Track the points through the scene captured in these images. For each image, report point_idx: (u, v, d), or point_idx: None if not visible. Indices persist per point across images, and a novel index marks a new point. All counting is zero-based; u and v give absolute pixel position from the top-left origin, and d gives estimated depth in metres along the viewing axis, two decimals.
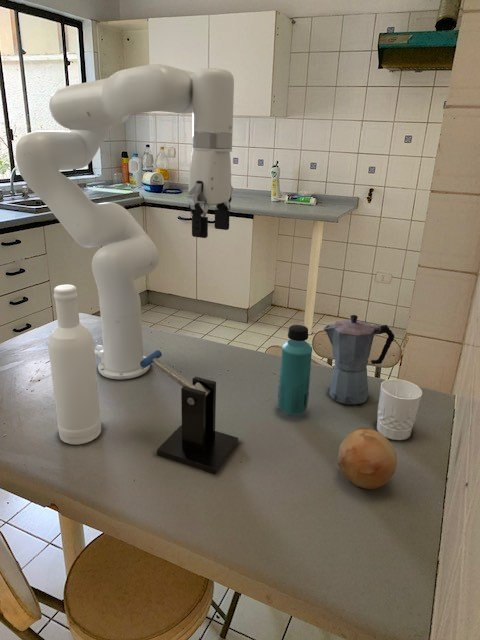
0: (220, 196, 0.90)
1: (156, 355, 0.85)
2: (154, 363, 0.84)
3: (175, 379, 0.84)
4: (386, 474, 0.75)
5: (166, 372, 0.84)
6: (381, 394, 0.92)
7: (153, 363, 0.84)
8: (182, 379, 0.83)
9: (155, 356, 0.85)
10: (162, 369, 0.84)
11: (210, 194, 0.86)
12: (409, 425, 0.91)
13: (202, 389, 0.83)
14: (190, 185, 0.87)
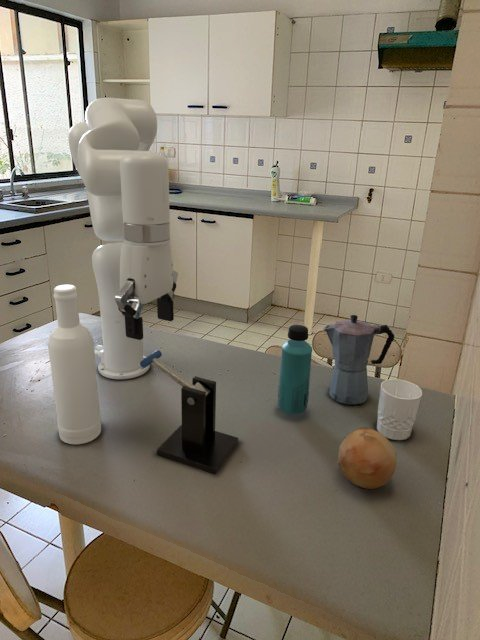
0: (158, 291, 0.79)
1: (156, 355, 0.85)
2: (154, 363, 0.84)
3: (175, 379, 0.84)
4: (386, 474, 0.75)
5: (166, 372, 0.84)
6: (381, 394, 0.92)
7: (153, 363, 0.84)
8: (182, 379, 0.83)
9: (155, 356, 0.85)
10: (162, 369, 0.84)
11: (143, 293, 0.75)
12: (409, 425, 0.91)
13: (202, 389, 0.83)
14: (120, 282, 0.76)
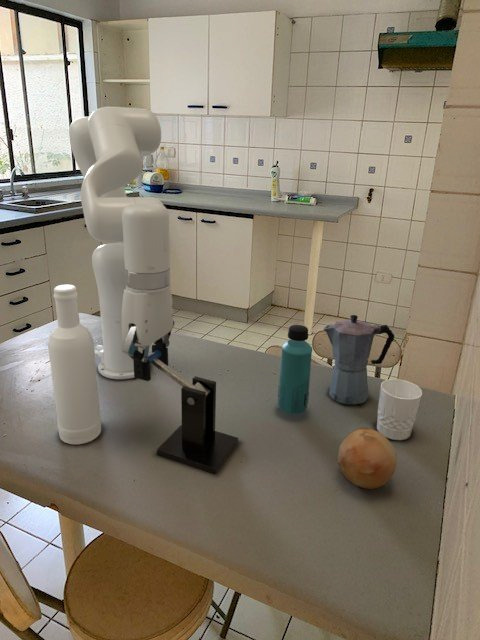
0: (158, 333, 0.82)
1: (156, 355, 0.85)
2: (154, 363, 0.84)
3: (175, 379, 0.84)
4: (386, 474, 0.75)
5: (166, 372, 0.84)
6: (381, 394, 0.92)
7: (153, 363, 0.84)
8: (182, 379, 0.83)
9: (155, 356, 0.85)
10: (162, 369, 0.84)
11: (144, 337, 0.78)
12: (409, 425, 0.91)
13: (202, 389, 0.83)
14: (122, 326, 0.79)
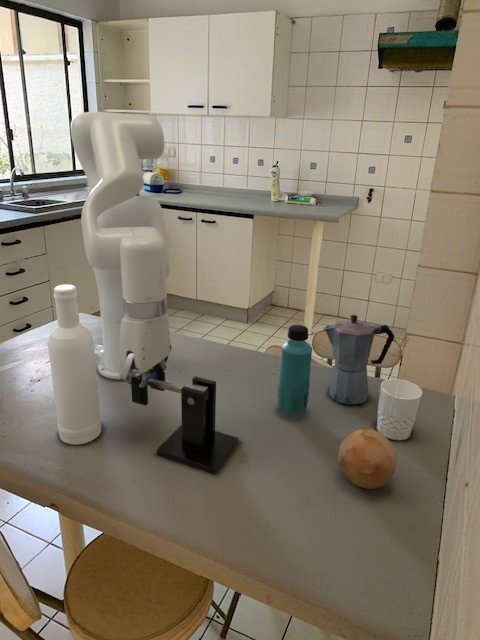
0: (155, 359, 0.84)
1: (151, 376, 0.88)
2: (150, 383, 0.86)
3: (173, 389, 0.85)
4: (386, 474, 0.75)
5: (163, 386, 0.85)
6: (381, 394, 0.92)
7: (150, 384, 0.86)
8: (179, 387, 0.84)
9: (150, 377, 0.87)
10: (159, 385, 0.86)
11: (142, 364, 0.80)
12: (409, 425, 0.91)
13: (199, 387, 0.83)
14: (120, 353, 0.81)
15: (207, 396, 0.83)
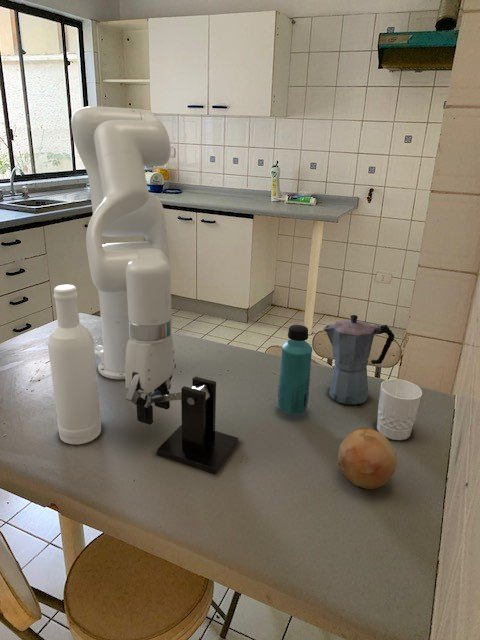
0: (160, 379, 0.85)
1: (154, 394, 0.89)
2: (154, 399, 0.87)
3: (175, 398, 0.85)
4: (386, 474, 0.75)
5: (166, 398, 0.86)
6: (381, 394, 0.92)
7: (154, 400, 0.87)
8: (180, 393, 0.85)
9: (153, 395, 0.88)
10: (162, 399, 0.86)
11: (147, 385, 0.81)
12: (409, 425, 0.91)
13: (197, 387, 0.83)
14: (126, 374, 0.82)
15: (207, 394, 0.83)
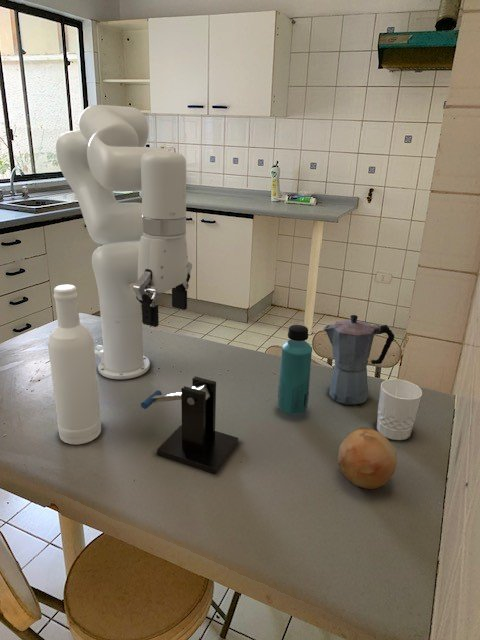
0: (173, 281, 0.84)
1: (154, 394, 0.89)
2: (154, 400, 0.87)
3: (175, 398, 0.85)
4: (386, 474, 0.75)
5: (166, 398, 0.86)
6: (381, 394, 0.92)
7: (154, 400, 0.87)
8: (180, 393, 0.85)
9: (153, 395, 0.88)
10: (162, 399, 0.86)
11: (160, 283, 0.80)
12: (409, 425, 0.91)
13: (197, 387, 0.83)
14: (138, 272, 0.81)
15: (207, 394, 0.83)
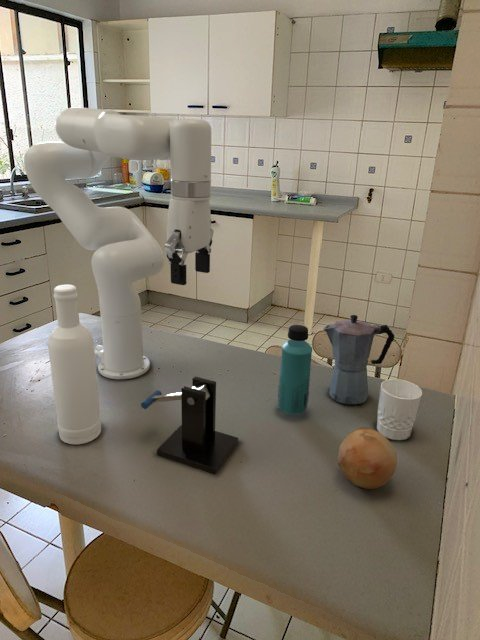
0: (199, 243, 0.89)
1: (154, 394, 0.89)
2: (154, 400, 0.87)
3: (175, 398, 0.85)
4: (386, 474, 0.75)
5: (166, 398, 0.86)
6: (381, 394, 0.92)
7: (154, 400, 0.87)
8: (180, 393, 0.85)
9: (153, 395, 0.88)
10: (162, 399, 0.86)
11: (188, 242, 0.86)
12: (409, 425, 0.91)
13: (197, 387, 0.83)
14: (168, 233, 0.87)
15: (207, 394, 0.83)
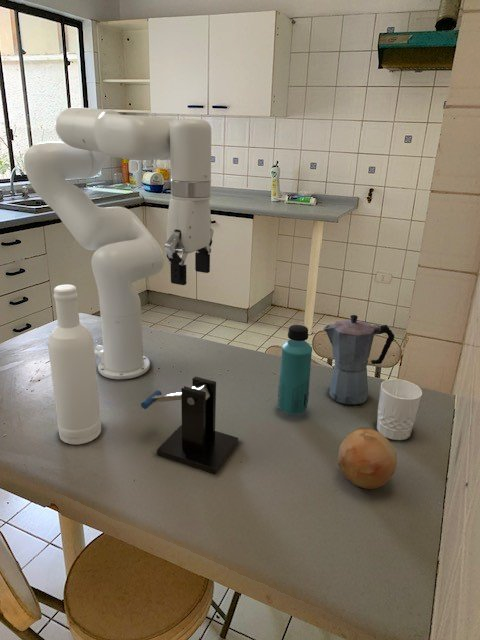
0: (199, 243, 0.89)
1: (154, 394, 0.89)
2: (154, 400, 0.87)
3: (175, 398, 0.85)
4: (386, 474, 0.75)
5: (166, 398, 0.86)
6: (381, 394, 0.92)
7: (154, 400, 0.87)
8: (180, 393, 0.85)
9: (153, 395, 0.88)
10: (162, 399, 0.86)
11: (188, 242, 0.86)
12: (409, 425, 0.91)
13: (197, 387, 0.83)
14: (168, 233, 0.87)
15: (207, 394, 0.83)
